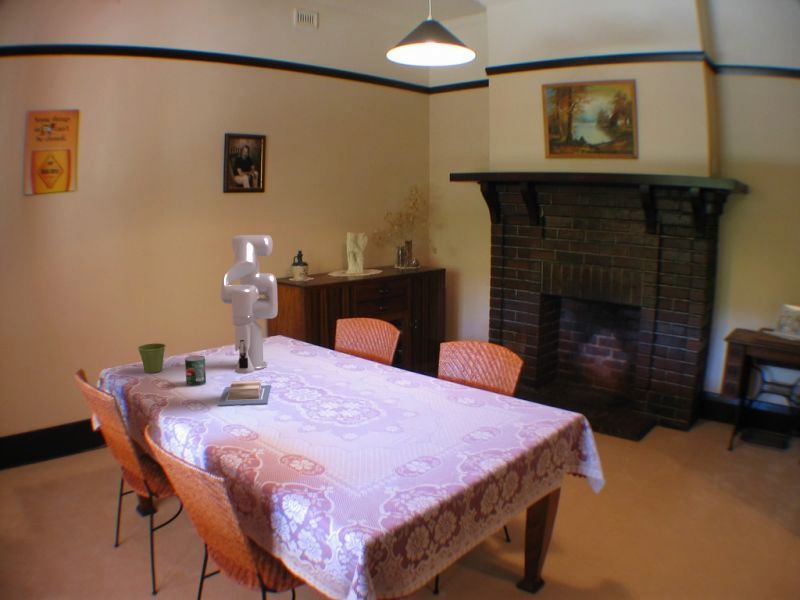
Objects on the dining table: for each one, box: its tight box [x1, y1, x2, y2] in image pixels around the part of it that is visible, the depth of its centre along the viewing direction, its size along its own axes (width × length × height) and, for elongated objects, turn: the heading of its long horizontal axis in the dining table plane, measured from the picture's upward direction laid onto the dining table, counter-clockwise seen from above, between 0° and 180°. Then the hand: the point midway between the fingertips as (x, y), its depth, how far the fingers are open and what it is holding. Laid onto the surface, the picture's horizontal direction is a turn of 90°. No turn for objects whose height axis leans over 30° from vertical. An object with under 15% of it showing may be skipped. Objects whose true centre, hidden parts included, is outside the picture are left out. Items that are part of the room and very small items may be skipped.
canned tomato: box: [184, 355, 207, 387], centre depth 267 cm, size 8×8×11 cm
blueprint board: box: [217, 384, 272, 407], centre depth 253 cm, size 22×18×1 cm
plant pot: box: [136, 342, 167, 374], centre depth 285 cm, size 12×12×11 cm
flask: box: [234, 347, 256, 375], centre depth 250 cm, size 7×7×10 cm
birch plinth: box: [229, 379, 262, 400], centre depth 252 cm, size 11×11×4 cm
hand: (244, 365), depth 250 cm, fingers closed on flask, 5 cm apart
